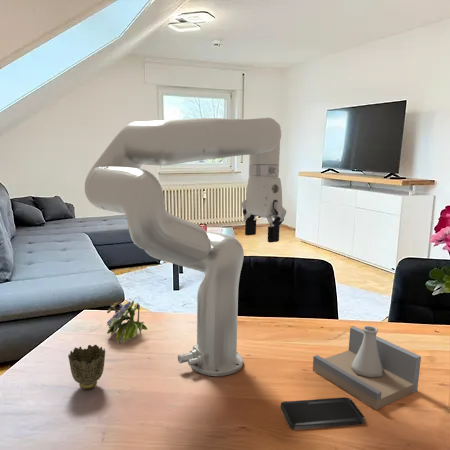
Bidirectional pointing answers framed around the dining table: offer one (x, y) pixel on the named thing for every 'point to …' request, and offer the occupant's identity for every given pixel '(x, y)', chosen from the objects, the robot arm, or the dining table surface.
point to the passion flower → (129, 325)
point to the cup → (87, 365)
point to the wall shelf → (372, 386)
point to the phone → (321, 413)
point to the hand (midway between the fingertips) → (261, 238)
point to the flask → (368, 355)
